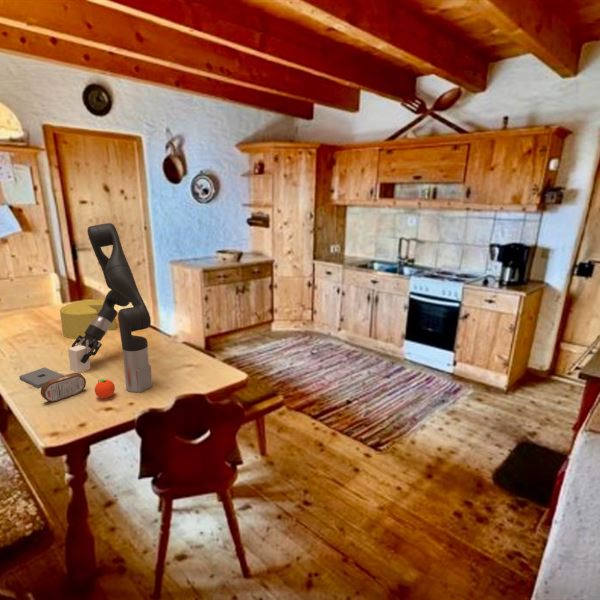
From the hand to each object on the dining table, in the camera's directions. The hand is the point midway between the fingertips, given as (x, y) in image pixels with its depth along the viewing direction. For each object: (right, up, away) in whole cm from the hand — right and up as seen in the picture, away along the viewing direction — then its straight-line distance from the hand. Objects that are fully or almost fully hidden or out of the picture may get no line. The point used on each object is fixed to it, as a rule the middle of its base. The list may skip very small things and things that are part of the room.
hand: (76, 360), depth 169 cm
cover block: (+1, -4, +2) cm, 5 cm away
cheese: (-20, +9, +48) cm, 52 cm away
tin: (+8, -11, -20) cm, 24 cm away
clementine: (+22, -11, -19) cm, 31 cm away
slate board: (-10, -7, -8) cm, 14 cm away
